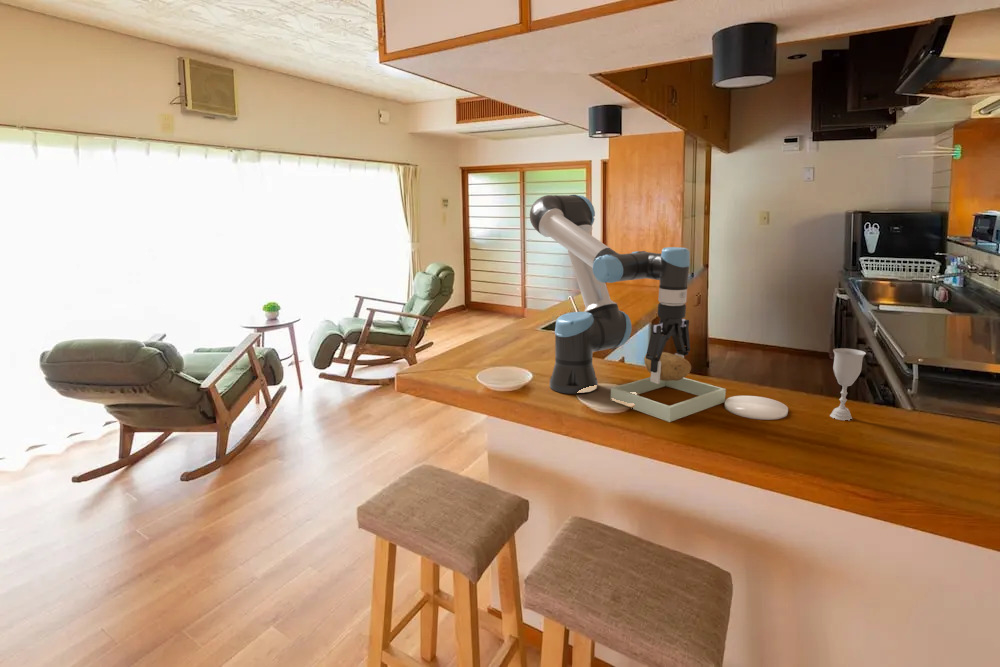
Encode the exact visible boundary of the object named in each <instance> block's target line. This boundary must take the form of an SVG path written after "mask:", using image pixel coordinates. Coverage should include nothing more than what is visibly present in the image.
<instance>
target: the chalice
mask: <svg viewBox="0 0 1000 667" xmlns="http://www.w3.org/2000/svg"><path fill="white" fill-rule="evenodd" d="M832 351H833V353H834V354H833V355H834V358H833V366H832V369H833V374H834V376H835V379H836V380H837V383H838V384H839V385H840V386H842V389H841V391H840V394H841V397H840V398H839V399H838V400H839V401H840V404H839V406H837V407H835V408H833V410H832V411H831V413H830V414H829V417H831V418H832V419H834V418H835V420H839V421H845V420H848V421H851V420H850V419H852V420H853V417H852V415H851V411H850V410H849V408H848V407H846V402H847V401H848V399H847V398H846V397H847V395H848V392H847V390H848V387H850V386H851V387H852V385H853V384H854V383H855V381H857V379H858V377H859V376H860V374H861V372H862V367H863V359H864V357H865V355H866V354H867V353H866V352H865V351H864V350H859V349H855V348H854V349H853V348H846V347H845V348H842V347H840V348H834V349H832Z"/></svg>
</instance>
